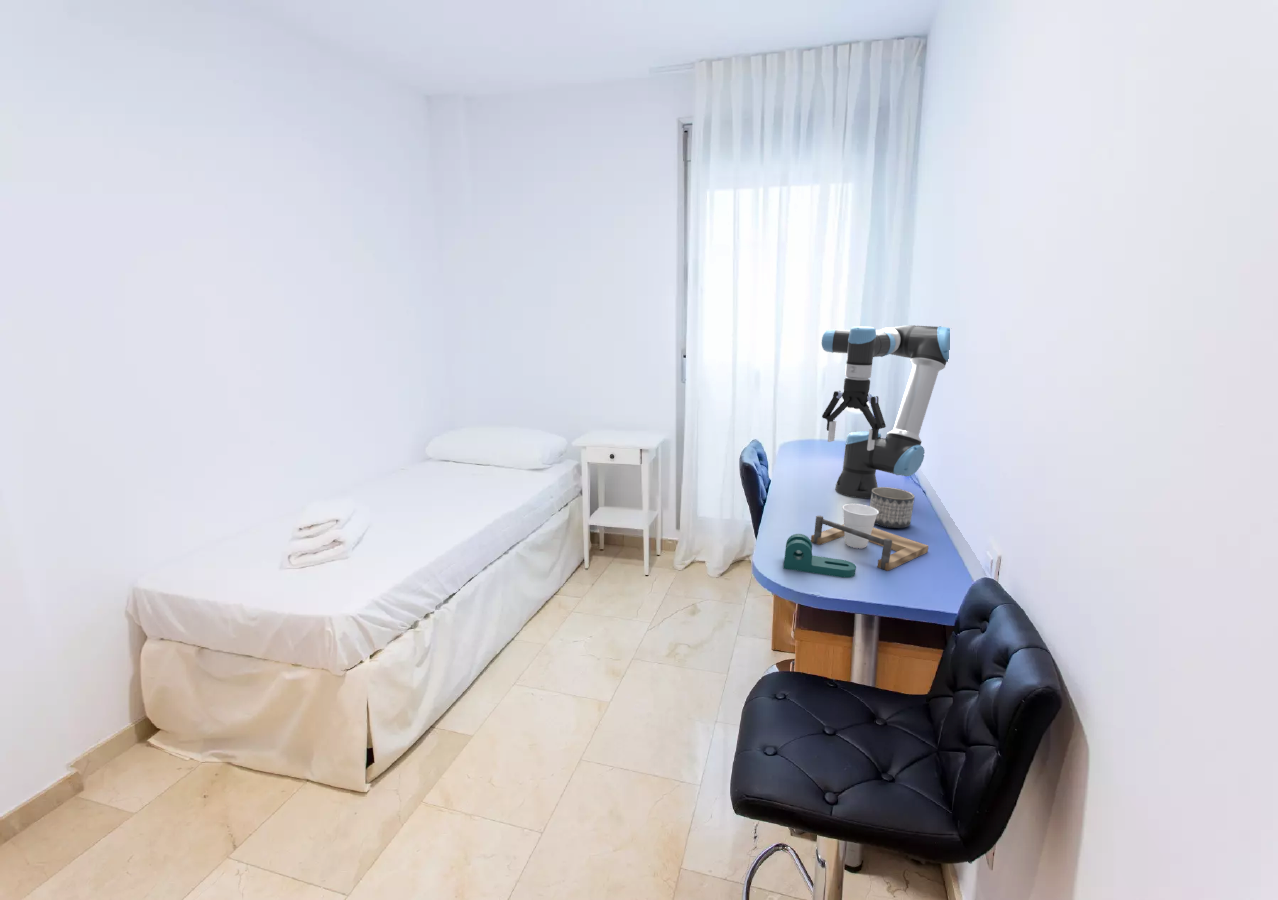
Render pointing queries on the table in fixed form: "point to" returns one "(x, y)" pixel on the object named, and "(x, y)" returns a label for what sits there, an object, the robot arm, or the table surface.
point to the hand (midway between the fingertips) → (850, 445)
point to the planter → (892, 506)
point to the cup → (858, 523)
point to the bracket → (813, 559)
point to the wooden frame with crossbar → (888, 540)
